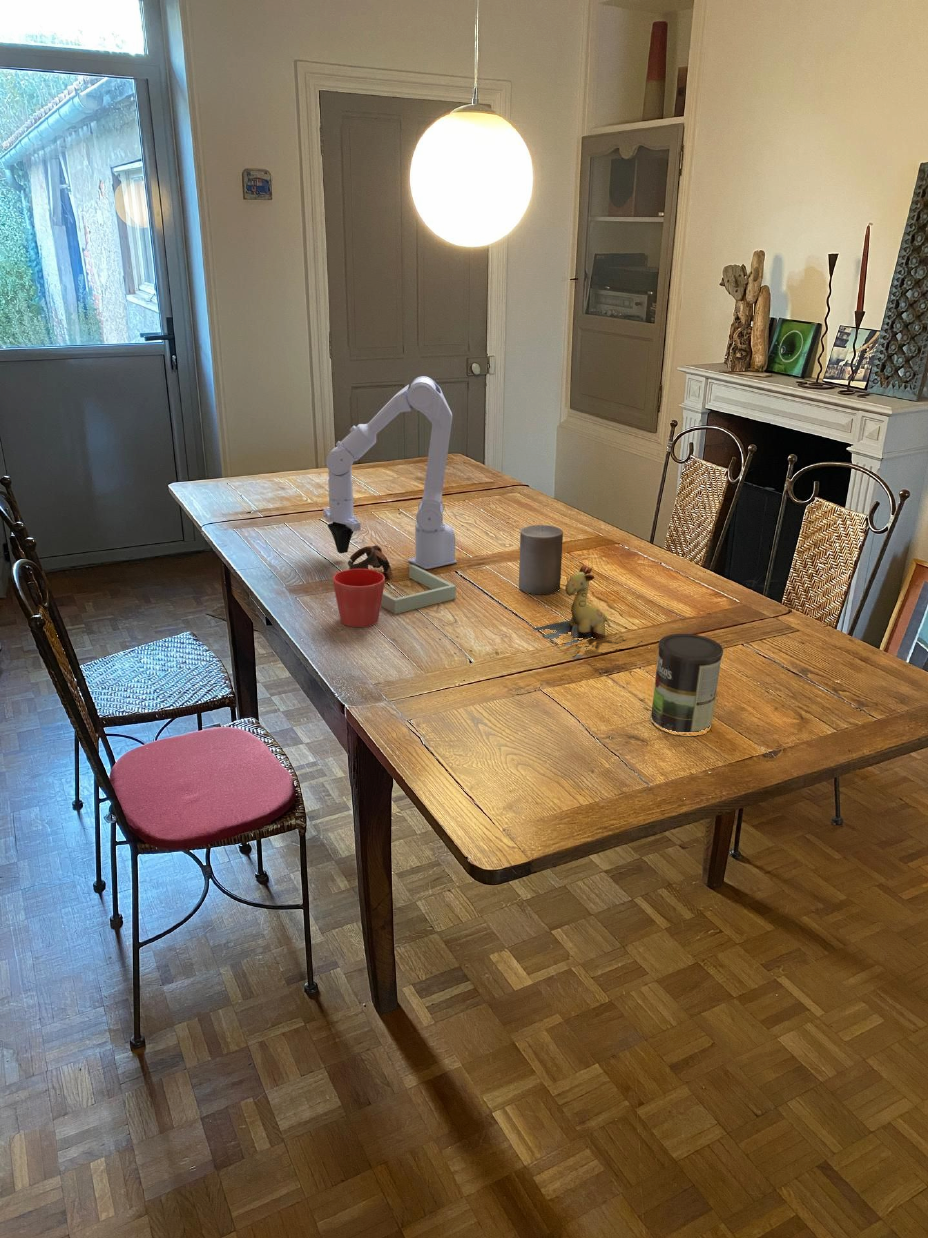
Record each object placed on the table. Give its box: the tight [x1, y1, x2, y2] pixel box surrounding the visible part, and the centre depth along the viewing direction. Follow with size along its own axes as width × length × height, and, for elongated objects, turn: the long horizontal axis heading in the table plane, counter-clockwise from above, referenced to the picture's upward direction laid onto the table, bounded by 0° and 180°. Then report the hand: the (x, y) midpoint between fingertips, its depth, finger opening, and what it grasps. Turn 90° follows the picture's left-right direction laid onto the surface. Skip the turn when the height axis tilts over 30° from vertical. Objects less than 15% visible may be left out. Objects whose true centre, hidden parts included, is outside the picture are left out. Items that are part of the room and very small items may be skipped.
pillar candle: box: [518, 524, 564, 596], centre depth 213 cm, size 10×10×15 cm
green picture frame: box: [381, 564, 457, 615], centre depth 210 cm, size 16×17×3 cm
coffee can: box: [650, 633, 724, 732], centre depth 156 cm, size 10×10×14 cm
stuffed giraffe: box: [533, 564, 628, 660], centre depth 188 cm, size 16×18×16 cm
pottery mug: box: [347, 544, 394, 581], centre depth 221 cm, size 12×9×8 cm
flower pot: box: [332, 568, 386, 628], centre depth 194 cm, size 11×11×10 cm
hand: (342, 552), depth 230 cm, fingers closed
